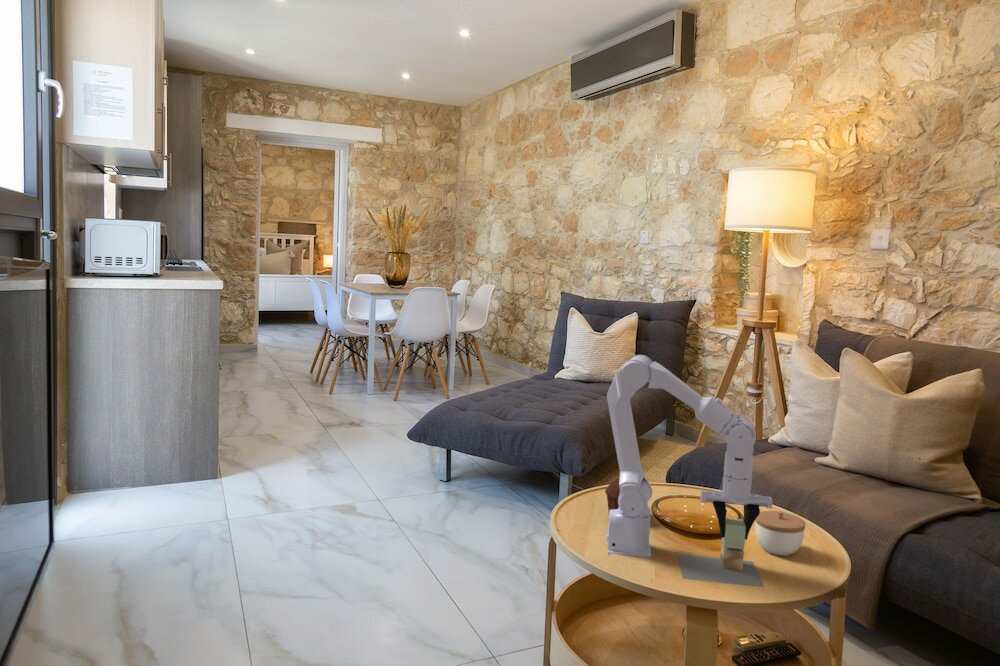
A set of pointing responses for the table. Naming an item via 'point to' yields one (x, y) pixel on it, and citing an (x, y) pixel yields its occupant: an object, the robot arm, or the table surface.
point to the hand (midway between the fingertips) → (733, 536)
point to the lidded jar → (779, 532)
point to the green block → (734, 533)
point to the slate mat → (718, 571)
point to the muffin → (613, 494)
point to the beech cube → (732, 558)
